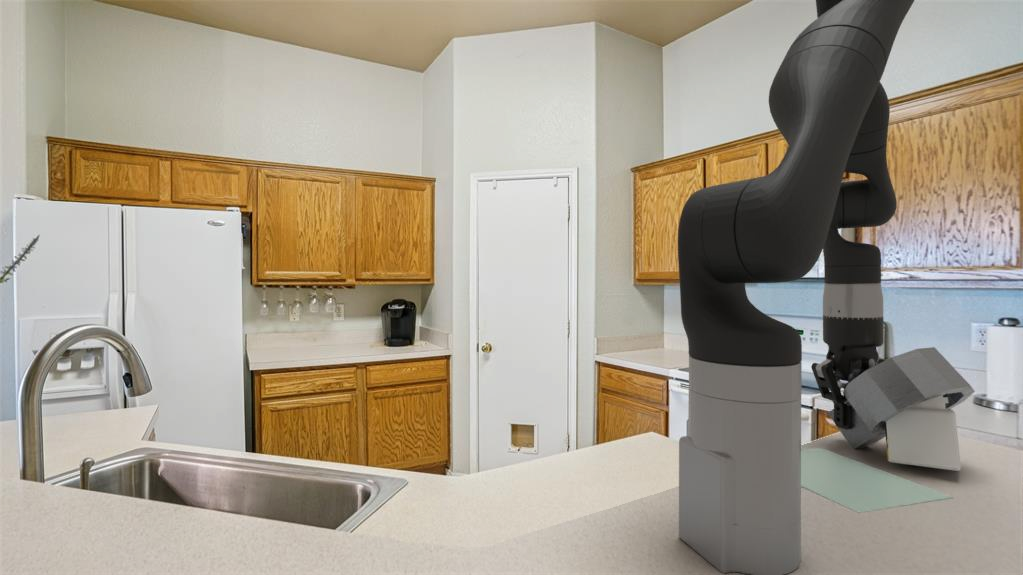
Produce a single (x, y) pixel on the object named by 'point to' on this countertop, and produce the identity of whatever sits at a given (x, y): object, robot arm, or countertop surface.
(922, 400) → the ring
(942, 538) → the countertop surface
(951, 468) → the medicine bottle
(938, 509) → the countertop surface
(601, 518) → the countertop surface
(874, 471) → the mat
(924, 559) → the countertop surface
